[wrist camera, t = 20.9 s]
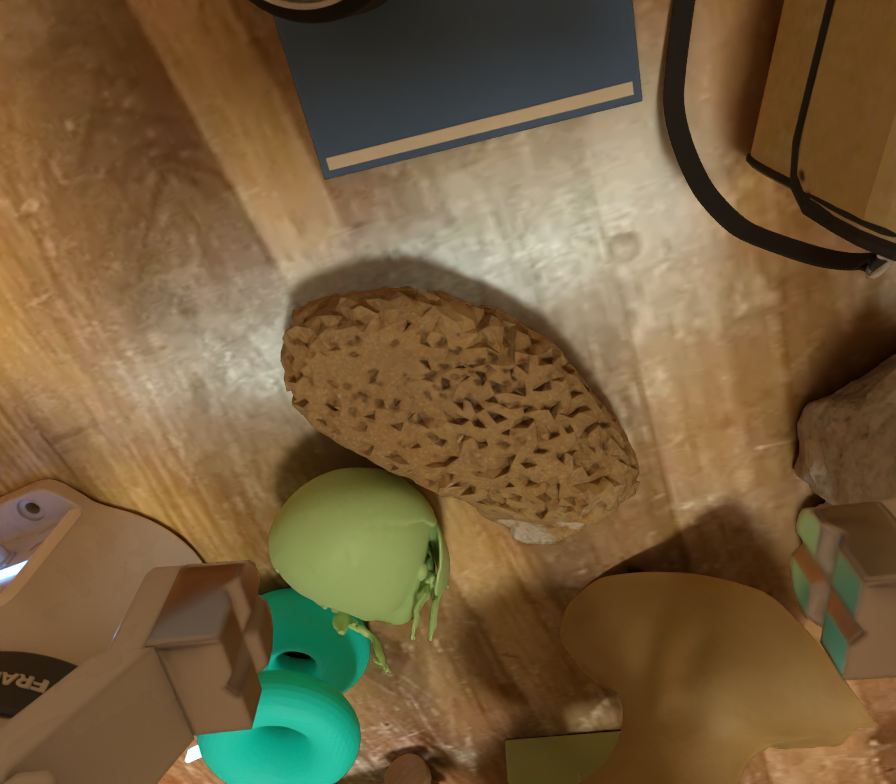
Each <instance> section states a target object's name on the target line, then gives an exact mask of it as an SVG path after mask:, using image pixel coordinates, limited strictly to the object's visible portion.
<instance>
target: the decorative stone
mask: <svg viewBox="0 0 896 784" xmlns="http://www.w3.org/2000/svg"><path fill="white" fill-rule="evenodd" d="M797 430H798V439H799V445H800V446H799V451H800V452H799V453H800V454H799V456H798V458H797V460H796V464H795V467H794V468H795V472H796V474H797V476H798V477H799V478H801V479H803V480H805V481H806V482H808V483H809V486H810V488H811V490H812V491H813V493H814V494H816V495H818V496H820V497H821V498H823V499H824V500H826V501H827V502H828V503H830V504H832V505H841V504H851V503H861V502H873V501H874V500H882V499H891V498H896V353H895V354H894V355H892V356H891V357H889V358H887V359H886V360H885V361H883V362H880V364H878V366H877V367H875V368H873V369H872V370H871V371H869V372H868V373H866V374H865V375H864V376H862V377H861V378H859V379H857V380H854V381H851V382H849V384H847V385H845V386H844V387H843V388H841V389H839V390H838V391H836V392H835V393H834V394H832V395H830V396H827V397H825V398H822V399H819V400H816V401H812V402H810V403H808V404H807V405H806V406H805V407H804V409H803V411H802V413H801V417H800V419H799V421H798V423H797Z"/></svg>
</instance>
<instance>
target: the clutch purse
mask: <svg viewBox="0 0 896 784" xmlns="http://www.w3.org/2000/svg"><path fill="white" fill-rule="evenodd" d="M694 5H695V0H674V2H673V9H672V16H671V24H670V32H669V40H668V48H667V57H666V66H665V77H664V90H663V106H664V115H665V121H666V126H667V130H668V134H669V138H670V141H671V145H672V148H673V150H674V153H675V156H676V159H677V161H678V164H679V166H680V168H681V171H682V173H683V175H684V177H685V179H686V181H687V183H688V185H689V187H690V189H691V190H692V192H693V194H694V195H695V197H696V198H697V199H698V201H699V202H700V203H701V205H702V206H703V207H704V208H705V209H706V211H707V212H708V213H709V214H710V215H711V216H712V217H713V218H714V219H715V220H716V221H717V222H718V223H719V224H720V225H721V226H722V227H723V228H724V229H726V230H727V231H728V232H729V233H731V234H732V235H734V236H735V237H737V238H739V239H741V240H743V241H745V242H747V243H750V244H752V245H755V246H757V247H760V248H762V249H765V250H768V251H770V252H773V253H776V254H779V255H782V256H784V257H787V258H790V259H793V260H796V261H800V262H803V263H806V264H810V265H814V266H818V267H822V268H828V269H835V270H862V271H864V272H866V278H867V279H873V278H876V277H878V276H880V275H881V274H883V273H884V272H885V271H886V270H887V269H888V268H889V267H890V266H891V265H892V263H893V262H894V261H896V0H784V4H783V9H782V13H781V18H780V22H779V27H778V32H777V36H776V41H775V45H774V50H773V54H772V59H771V63H770V68H769V72H768V77H767V82H766V86H765V91H764V95H763V100H762V104H761V109H760V113H759V118H758V123H757V127H756V132H755V136H754V141H753V145H752V150H751V152H750V153H748V154H747V156H746V161H747V162H748V163H749V164H750V165H751V166H752V167H753V168H754V169H755V170H757V171H758V172H760V173H762V174H763V175H765V176H767V177H769V178H770V179H772V180H774V181H776V182H778V183H780V184H782V185H783V186H785V187H787V188H789V189H791V190H792V192H793V194H794V196H795V198H796V200H797V203H798V205H799V207H800V209H801V211H802V213H803V214H804V215H806V216H807V217H809V218H811V219H812V220H814V221H815V222H817V223H818V224H820V225H822V226H823V227H825V228H826V229H828V230H829V231H831V232H833V233H835V234H836V235H838V236H840V237H842V238H844V239H845V240H847V241H849V242H851V243H853V244H854V245H856V246H859V247H861V248H863V249H865V250H868V251H870V252H872V253H848V252H841V251H835V250H830V249H826V248H822V247H818V246H815V245H811V244H808V243H805V242H802V241H798V240H795V239H792V238H789V237H786V236H783V235H780V234H778V233H775V232H772V231H769V230H767V229H764V228H762V227H759V226H757V225H755V224H753V223H751V222H750V221H748V220H747V219H745V218H744V217H743V216H741V215H740V214H739V213H738V212H737V211H736V210H735V209H734V208H733V207H732V206H731V205H730V204H729V203H728V202H727V201H726V200H725V199H724V198H723V197H722V196H721V194H720V193H719V192H718V191H717V189H716V188H715V187H714V185H713V184H712V182H711V180H710V179H709V177H708V175H707V173H706V171H705V169H704V167H703V165H702V163H701V161H700V159H699V156H698V154H697V151H696V149H695V146H694V143H693V141H692V138H691V134H690V131H689V127H688V123H687V119H686V114H685V106H684V85H685V74H686V64H687V56H688V48H689V40H690V33H691V26H692V19H693V12H694ZM887 261H889V262H888V263H887V264H886V265H885V266H884V267H883V268H882V269H881V270H880V271H879V272H877V273H876V274H874V275H870V273H872V272H873V271H875V270H876V269H878V268H879V267H880V266H882V265H883V264H884V263H886V262H887Z"/></svg>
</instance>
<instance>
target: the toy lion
mask: <svg viewBox="0 0 896 784" xmlns="http://www.w3.org/2000/svg"><path fill="white" fill-rule="evenodd" d="M385 784H439V783H438V782H436V781H435V780H432V779H431V772H430V769H429V767H428V766H427V764H426V763H425V761H424V760H423V759H422V758H421V757H420V756H418V755H416V754H411V753H409V754H404V755H401V756H400V757H398V758H396V759H395V760H394V761H393V762H392V763H391V765H390V766H389V768H388V769H387V772H386V775H385Z"/></svg>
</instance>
